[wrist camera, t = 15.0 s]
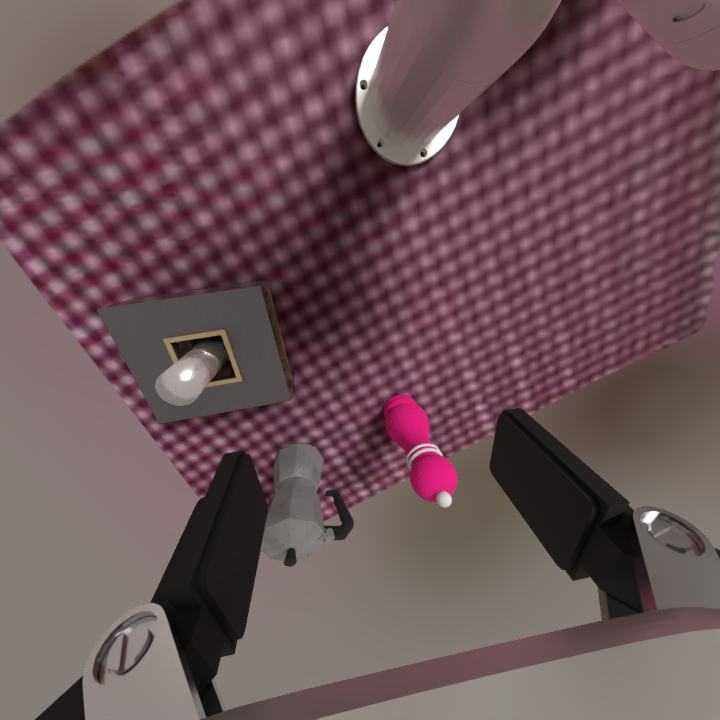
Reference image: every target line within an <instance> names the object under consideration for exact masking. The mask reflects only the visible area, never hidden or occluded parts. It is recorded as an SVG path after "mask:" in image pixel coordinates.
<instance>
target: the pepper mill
mask: <svg viewBox="0 0 720 720" xmlns="http://www.w3.org/2000/svg"><path fill="white" fill-rule="evenodd" d="M383 414H384V417H385V419H386V422H385V425H386V430H387V432H388V434H389V436H390V437H391V439H392V440H393V441H394V442H395V443H396V444H398V445H399V446H400V447H402V448H403V449H404V450H405V452H406V454H407V459H406V461H407V465H408V467H409V470H410V482H411V485H412V487H413V489H414V491H415V492H416V493H417V495H419V496H420V497H421V498H423V499H424V500H426V501H430V502H437V503H438V504H439V505H440V506H441V507H448V506H450V504H451V501H452V500H451V495H452V494H453V492H454V490H455V488H456V485H457V474H456V471H455V468H454V467H453V465H452V463H451V462H450V461H449V460H448V459H447V458H445V457H443V455H442V453H441V452H440V450H439V448H438V447H437V446H435V445H433V444H432V443H431V441H430V439H429V422H428V418H427V415H426V413H425V412H424V410H423V409H422V408H421V407H419V406H418V405H417V404H416V402H415V401H414V399H413V398H411V397H410V396H408V395H397V396H394V397H392V398H390V399H389V400H388V401H387V402H386V404H385V406H384V409H383Z"/></svg>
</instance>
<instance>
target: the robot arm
mask: <svg viewBox="0 0 720 720" xmlns="http://www.w3.org/2000/svg"><path fill="white" fill-rule="evenodd" d="M617 1H618V2H619V4H620V5H621V6H622V7H623V8H624V9H625V10H626V11H627V12H628V13H629V14H630V15H631V16H632V17H633V18H634V19H635V20H636V21H637V22H638V23H639V24H640V25H641V27H642V28H643V29H644V30H645V31H646V32H647V33H648V34H649V35H650V36H651V37H652V38H653V39H654V40H655V41H656V42H657V43H658V44H659V45H660V46H661V47H662V48H663V49H664V50H665V51H666V52H667V53H668V54H669V55H671V56H672V57H673V58H674V59H676V60H677V61H678V62H680V63H682V64H684V65H686V66H688V67H691V68H695V69H699V70H720V0H617ZM560 2H561V0H396V4H395V7H394V10H393V13H392V16H391V19H390V22H389V25H388V26H387V27H386V28H384V29H383V30H382V31H381V32H380V33H379V34H378V35H377V36H376V37H375V38H374V39H373V41H372V42H371V44H370V45H369V46H368V48H367V50H366V52H365V54H364V56H363V59H362V61H361V65H360V68H359V72H358V76H357V81H356V91H355V104H356V113H357V117H358V122H359V125H360V128H361V130H362V133H363V135H364V137H365V139H366V140H367V142H368V144H369V145H370V147H371V148H372V149H373V150H374V151H375V152H376V154H378V155H379V156H380V157H381V158H383V159H384V160H386V161H388V162H390V163H392V164H395V165H399V166H413V165H417V164H421V163H423V162H425V161H427V160H429V159H430V158H431V157H433V156H434V155H435V154H437V153H438V152H439V151H440V150H441V149H442V148H443V147H444V145H445V144H446V143H447V141H448V140H449V138H450V137H451V135H452V133H453V131H454V129H455V127H456V124H457V121H458V118H459V115H460V113H461V112H462V111H463V110H464V109H465V108H467V107H468V106H469V105H470V104H471V103H472V102H473V101H474V100H475V99H476V98H477V97H479V96H480V95H481V94H482V93H483V92H484V91H485V90H486V89H487V88H488V87H489V86H490V85H492V84H493V83H494V82H495V81H496V80H497V79H498V78H499V77H500V76H501V75H502V74H503V73H505V72H506V71H507V70H508V69H509V68H510V67H511V66H512V65H513V64H514V63H515V62H516V61H517V60H518V59H519V58H520V57H521V56H522V55H523V54H524V53H525V52H526V51H527V50H528V49H529V48H530V47H531V46H532V45H533V44H534V42H535V41H536V40H537V39H538V37H539V36H540V35H541V33H542V32H543V31H544V29H545V28H546V26H547V25H548V23H549V22H550V20H551V18H552V17H553V15H554V13H555V11H556V9H557V8H558V6H559V4H560ZM361 87H364V89H365V90H362V89H361ZM378 143H379V144H380V145H381V147H380V148H379V147H378V146H377V144H378ZM420 153H422V154H423V157H421V155H420ZM490 470H491V473H492V474H493V476H494V478H495V479H496V480H497V482H498V483H499V485H500V486H501V487H502V489H503V490H504V492H505V493H506V495H507V496H508V497H509V499H510V500H511V502H512V503H513V504H514V506H515V507H516V509H517V510H518V511H519V513H520V514H521V516H522V517H523V518H524V520H525V521H526V522H527V524H528V525H529V527H530V528H531V529H532V531H533V532H534V534H535V535H536V536H537V538H538V539H539V541H540V542H541V543H542V545H543V546H544V548H545V549H546V550H547V552H548V553H549V555H550V556H551V558H552V559H553V560H554V562H555V563H556V564H557V566H559V567H560V568H561V569H562V570H565V571H566V572H567V573H568V575H569V576H570V578H571V579H572V580H573V581H574V580H578V579H584V578H588V577H591V578H592V580H593V581H594V582H595V584H596V585H597V586H598V594H599V603H600V610H601V618H602V621H599V622H594V623H590V624H585V625H581V626H576V627H572V628H567V629H563V630H559V631H554V632H550V633H546V634H541V635H537V636H532V637H528V638H523V639H519V640H514V641H510V642H506V643H501V644H497V645H493V646H489V647H484V648H480V649H475V650H471V651H467V652H462V653H458V654H454V655H449V656H445V657H441V658H436V659H432V660H428V661H424V662H419V663H415V664H411V665H406V666H402V667H398V668H394V669H389V670H385V671H381V672H377V673H373V674H368V675H364V676H360V677H356V678H352V679H348V680H343V681H339V682H335V683H331V684H326V685H322V686H318V687H314V688H310V689H306V690H301V691H297V692H294V693H290V694H286V695H282V696H278V697H275V698H271V699H267V700H264V701H259V702H255V703H252V704H248V705H244V706H240V707H236V708H233V709H230V710H227V709H226V706H225V704H224V702H223V699H222V696H221V694H220V691H219V688H218V686H217V683H216V681H215V678H214V677H215V676H216V674H217V671H218V667H219V662H220V658H221V657H223V656H228V655H232V654H235V648H236V644H237V640H238V639H241V638H242V637H243V635H244V632H245V628H246V623H247V617H248V612H249V607H250V602H251V597H252V591H253V586H254V581H255V576H256V571H257V566H258V561H259V555H260V550H261V545H262V540H263V535H264V530H265V524H266V519H267V514H268V506H267V502H266V499H265V496H264V493H263V491H262V488H261V485H260V482H259V479H258V476H257V474H256V471H255V468H254V465H253V462H252V459H251V457H250V455H249V454H246V455H245V453H244V452H243V451H238V452H232V453H226V454H224V456H223V458H222V460H221V462H220V464H219V467H218V469H217V471H216V473H215V476H214V478H213V480H212V482H211V485H210V487H209V489H208V491H207V494H206V496H205V497H203V498H201V499H200V500H199V501H198V503H197V504H196V506H195V508H194V510H193V512H192V515H191V517H190V519H189V521H188V523H187V526H186V528H185V530H184V532H183V534H182V536H181V538H180V540H179V543H178V545H177V547H176V549H175V551H174V553H173V556H172V558H171V560H170V562H169V564H168V566H167V568H166V571H165V573H164V575H163V577H162V579H161V581H160V583H159V586H158V588H157V590H156V592H155V594H154V596H153V598H152V601H151V603H148V604H143V605H140V606H138V607H136V608H133V609H132V610H130V611H129V612H127V613H126V614H124V615H123V616H121V617H120V618H119V619H118V620H117V621H116V622H115V623H114V624H113V625H111V626H110V627H109V629H108V630H107V631H106V632H105V634H104V635H103V636H102V637H101V638H100V639H99V641H98V642H97V644H96V646H95V647H94V649H93V651H92V652H91V654H90V656H89V658H88V661H87V664H86V666H85V668H84V674H83V676H82V677H81V678H80V679H79V680H78V681H77V682H76V683H75V684H74V685H72V686H71V687H70V688H69V689H68V690H67V691H66V692H65V693H64V694H63V695H61V696H60V697H59V698H58V699H57V700H56V701H55V702H54V703H53V704H52V705H51V706H49V708H47V709H46V710H45V711H44V712H43V713H42V714H41V715H40V716H39V717H37V718H36V719H35V720H720V550H718V549H716V548H714V546H713V545H712V544H711V542H710V541H709V539H708V538H707V537H706V536H705V535H704V534H703V533H702V532H701V531H700V530H699V529H698V528H696V527H695V526H694V525H692V524H691V523H689V522H688V521H687V520H685V519H683V518H681V517H679V516H678V515H676V514H674V513H671V512H669V511H666V510H664V509H660V508H656V507H651V506H649V507H648V506H642V507H639V508H637V509H636V510H635V511H634V510H633V509H632V508H630V506H628V505H629V501H628V500H626V499H625V498H624V497H623V496H622V495H621V494H619V493H618V492H617V491H616V490H615V489H613V487H611V486H610V485H609V484H608V483H607V482H606V481H604V480H603V479H602V478H601V477H600V476H599V475H598V474H596V473H595V472H594V471H593V470H592V469H590V468H589V467H588V466H587V465H586V464H585V463H583V462H582V461H581V460H580V459H579V458H578V457H577V456H575V455H574V454H573V453H572V452H571V451H570V450H569V449H567V448H566V447H565V446H564V445H563V444H562V443H560V442H559V441H558V440H557V439H556V438H555V437H554V436H552V435H551V434H550V433H549V432H548V431H547V430H545V429H544V428H543V427H542V426H541V425H540V424H539V423H537V422H536V421H535V420H534V419H533V418H532V417H531V416H529V415H528V414H527V413H526V412H525V411H524V410H522V409H520V408H516V409H509V410H504V411H503V412H502V414H501V415H499V417H498V421H497V427H496V432H495V438H494V444H493V449H492V455H491V460H490Z"/></svg>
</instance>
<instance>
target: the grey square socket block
mask: <svg viewBox="0 0 720 720" xmlns="http://www.w3.org/2000/svg"><path fill="white" fill-rule="evenodd" d="M271 288H272V287H271V283H270V279H267V280H260V281H253V282H246V283H239V284H232V285H224V286H217V287H210V288H203V289H196V290H189V291H182V292H175V293H168V294H161V295H154V296H147V297H139V298H133V299H130V300H126V301H123V302H119V303H116V304H113V305H109V306H106V307H102V308H99V309H97V310H98V312H99V314H100V316H101V317H102V319H103V321H104V323H105V325H106V327H107V329H108V330H109V332H110V334H111V336H112V338H113V340H114V341H115V343H116V345H117V347H118V349H119V351H120V353H121V354H122V356H123V358H124V360H125V362H126V364H127V365H128V367H129V369H130V371H131V373H132V375H133V377H134V378H135V380H136V382H137V384H138V386H139V388H140V390H141V391H142V393H143V395H144V397H145V399H146V401H147V402H148V404H149V406H150V408H151V410H152V412H153V414H154V415H155V417H156V419H157V421H158V423H159V424H162V423H167V422H173V421H178V420H184V419H190V418H195V417H201V416H206V415H212V414H218V413H223V412H229V411H234V410H240V409H246V408H251V407H257V406H262V405H268V404H274V403H279V402H285V401H290V400H291V398H292V393H293V387H294V381H295V378H294V374H293V373H291V370H290V366H289V362H288V358H287V354H286V350H285V346H284V342H283V338H282V335H281V331H280V327H279V323H278V319H277V315H276V311H275V307H274V303H273V300H272V296H271V292H270V289H271ZM218 335H221V336H222V339H223V341H224V344H225V347H226V350H227V353H228V355H229V358H230V361H231V364H229V365H224V366H223V367H221V369H220V370H219V371H218V372H217V374H216V375H215V376H214V377H213V379H212V380H211V381H210V383H209V384H208V385H207V386H206V388H205V389H204V390H203V391H202V393H201V394H200V395H199V396H198V398H197V399H196V400H195V401H194V402H193V403H191V404H189V405H184V406H177V405H172V404H170V403H167V402H166V401H164V400H163V399H162V398H161V397H160V396H159V395H158V394H157V392H156V389H155V382H156V380H157V378H158V377H159V376H160V375H161V374H162V373H164V372H165V371H166V370H167V369H168V368H170V367H171V366H172V365H173V364H174V363H176V362H177V361H178V360H179V359H180V358H182V357H183V356H184V355H185V354H187V353H188V352H189V351H190V350H191V349H193V348H194V347H195V345H196V344H195V342H194V340H193V339H198V338H205V337H211V336H218Z"/></svg>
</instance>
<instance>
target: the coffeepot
mask: <svg viewBox="0 0 720 720" xmlns="http://www.w3.org/2000/svg"><path fill="white" fill-rule="evenodd" d="M323 462H324V459H323V458H322V456H321V454H320V452H319V451H318V450H317V448H316V447H314V446H312V445H309V444H304V443H295V444H291V445H288V446H286V447H284V448H283V449H281V450H279V453H278V455H277V458H276V460H275V463H274V491H275V495H274V497H273V500H272V502H271V505H270V508H269V511H268V514H267V519H266V524H265V530H264V535H263V540H262V545H261V550H260V552H264V553H265V554H266V555H267V556H268V557H269V558H270V559H274V560H284V565H285V566H290V567H291V566H293V565H295V564H296V562H297V560H300V559H303V558H305V557H307V556H310V555H312V554H315V553H317V552H318V550H319V549H320V547H321V545H322V543H330V542H333V541H335V540H343V539H345V538H346V536H347V535H348V534H349V533H350V531H351V530H352V528H353V525H354V523H353V519H352V517H351V515H350V513H349V511H348V509H347V507H346V505H345V503H344V501H343V499H342V497H341V495H340V493H339V491H338V490H328V491H326V493H325V496H332V497H333V498H334V505H335V507H336V508H337V510H338V513H339V517H340V520H341V522H342V525H341V526H324V523H323V517H322V511H321V506H320V500H319V497H318V495H317V493H316V492H317V489H318V487H319V482H320V477H321V472H322V467H323Z"/></svg>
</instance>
